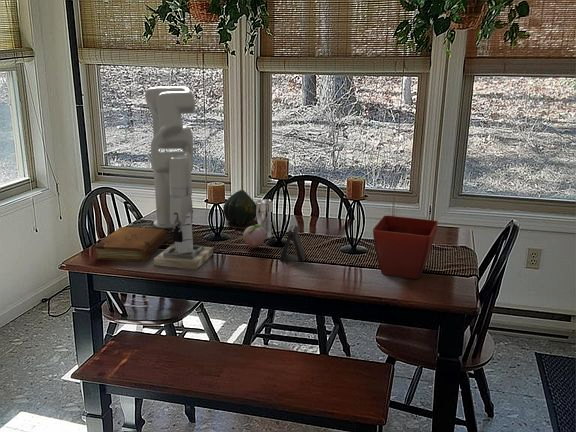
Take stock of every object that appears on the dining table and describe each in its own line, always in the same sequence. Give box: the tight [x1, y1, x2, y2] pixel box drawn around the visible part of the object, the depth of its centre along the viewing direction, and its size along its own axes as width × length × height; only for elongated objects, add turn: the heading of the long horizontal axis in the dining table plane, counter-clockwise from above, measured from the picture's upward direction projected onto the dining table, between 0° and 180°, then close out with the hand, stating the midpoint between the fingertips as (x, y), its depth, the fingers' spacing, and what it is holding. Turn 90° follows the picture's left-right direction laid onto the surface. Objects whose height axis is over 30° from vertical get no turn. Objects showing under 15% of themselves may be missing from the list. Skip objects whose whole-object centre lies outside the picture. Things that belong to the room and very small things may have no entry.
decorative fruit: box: [242, 223, 266, 249], centre depth 222 cm, size 9×8×10 cm
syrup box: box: [174, 213, 194, 254], centre depth 209 cm, size 6×6×14 cm
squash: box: [222, 189, 256, 227], centre depth 254 cm, size 14×15×15 cm
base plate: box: [153, 243, 214, 270], centre depth 212 cm, size 16×16×4 cm
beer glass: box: [255, 198, 274, 240], centre depth 235 cm, size 7×7×15 cm
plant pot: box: [372, 215, 439, 280], centre depth 201 cm, size 19×19×17 cm
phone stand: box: [278, 225, 307, 263], centre depth 212 cm, size 9×6×12 cm, turn 80°
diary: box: [94, 226, 167, 263], centre depth 221 cm, size 23×19×6 cm
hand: (183, 237), depth 210 cm, fingers closed on syrup box, 7 cm apart
